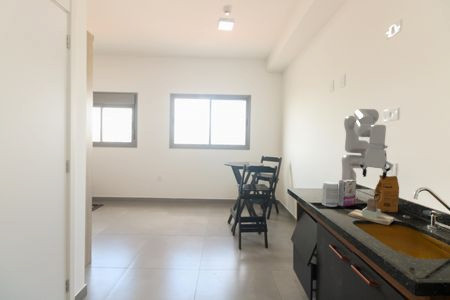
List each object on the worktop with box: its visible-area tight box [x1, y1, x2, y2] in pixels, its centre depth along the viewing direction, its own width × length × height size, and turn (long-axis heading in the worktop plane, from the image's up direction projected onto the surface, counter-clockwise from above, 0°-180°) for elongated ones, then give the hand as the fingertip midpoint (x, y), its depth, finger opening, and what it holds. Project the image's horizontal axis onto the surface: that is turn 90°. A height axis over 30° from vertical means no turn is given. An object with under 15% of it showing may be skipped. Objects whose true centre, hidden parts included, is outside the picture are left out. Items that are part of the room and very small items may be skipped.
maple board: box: [348, 209, 395, 226], centre depth 155 cm, size 13×20×2 cm, turn 47°
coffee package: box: [373, 174, 400, 213], centre depth 172 cm, size 10×12×22 cm
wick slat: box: [366, 197, 377, 212], centre depth 155 cm, size 5×4×8 cm
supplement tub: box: [321, 181, 339, 208], centre depth 179 cm, size 10×10×15 cm
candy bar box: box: [337, 179, 357, 207], centre depth 181 cm, size 11×5×16 cm, turn 117°
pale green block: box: [362, 206, 382, 218], centre depth 155 cm, size 9×7×3 cm
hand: (373, 177), depth 154 cm, fingers open, 9 cm apart
